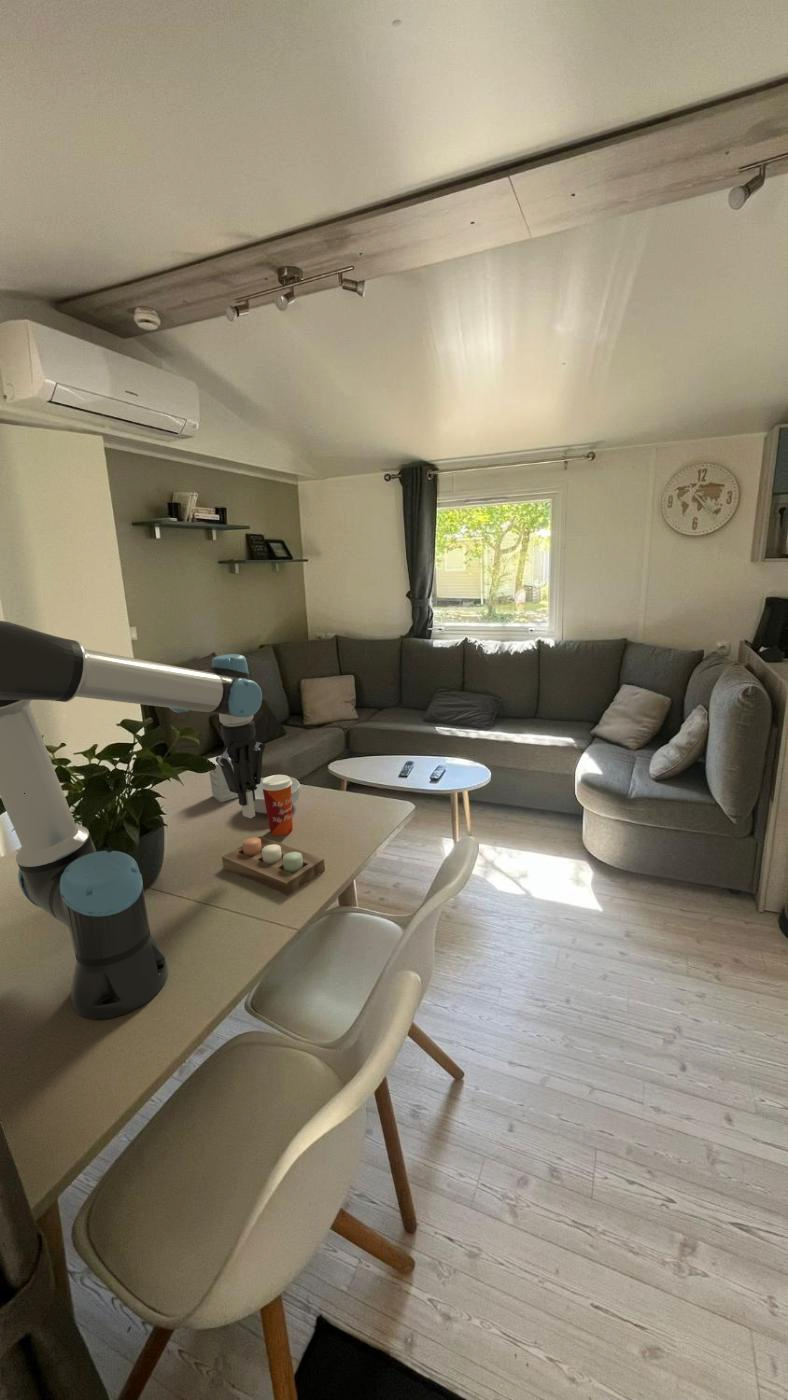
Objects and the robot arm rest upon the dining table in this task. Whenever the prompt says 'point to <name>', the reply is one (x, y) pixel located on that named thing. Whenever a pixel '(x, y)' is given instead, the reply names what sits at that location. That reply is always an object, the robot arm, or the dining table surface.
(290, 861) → the pale green rounded block
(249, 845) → the brown egg
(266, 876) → the walnut panel
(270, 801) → the coffee cup
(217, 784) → the supplement box
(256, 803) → the cereal bowl
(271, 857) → the cream rounded piece
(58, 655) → the robot arm
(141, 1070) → the dining table surface
